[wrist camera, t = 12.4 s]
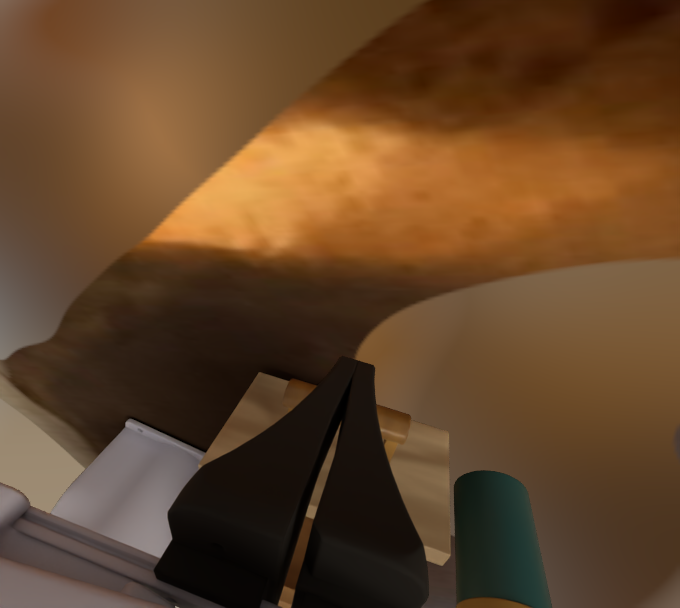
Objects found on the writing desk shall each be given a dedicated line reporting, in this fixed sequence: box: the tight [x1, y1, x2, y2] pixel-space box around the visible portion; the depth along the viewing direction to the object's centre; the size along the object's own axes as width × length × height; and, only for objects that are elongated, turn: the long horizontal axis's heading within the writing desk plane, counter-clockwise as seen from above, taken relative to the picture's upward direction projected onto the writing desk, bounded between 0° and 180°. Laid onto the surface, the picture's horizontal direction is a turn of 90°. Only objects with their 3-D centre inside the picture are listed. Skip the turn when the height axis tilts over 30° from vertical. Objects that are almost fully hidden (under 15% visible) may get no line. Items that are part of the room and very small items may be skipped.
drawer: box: [198, 372, 451, 590], centre depth 21 cm, size 18×12×7 cm
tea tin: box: [454, 471, 552, 608], centre depth 21 cm, size 5×5×8 cm
